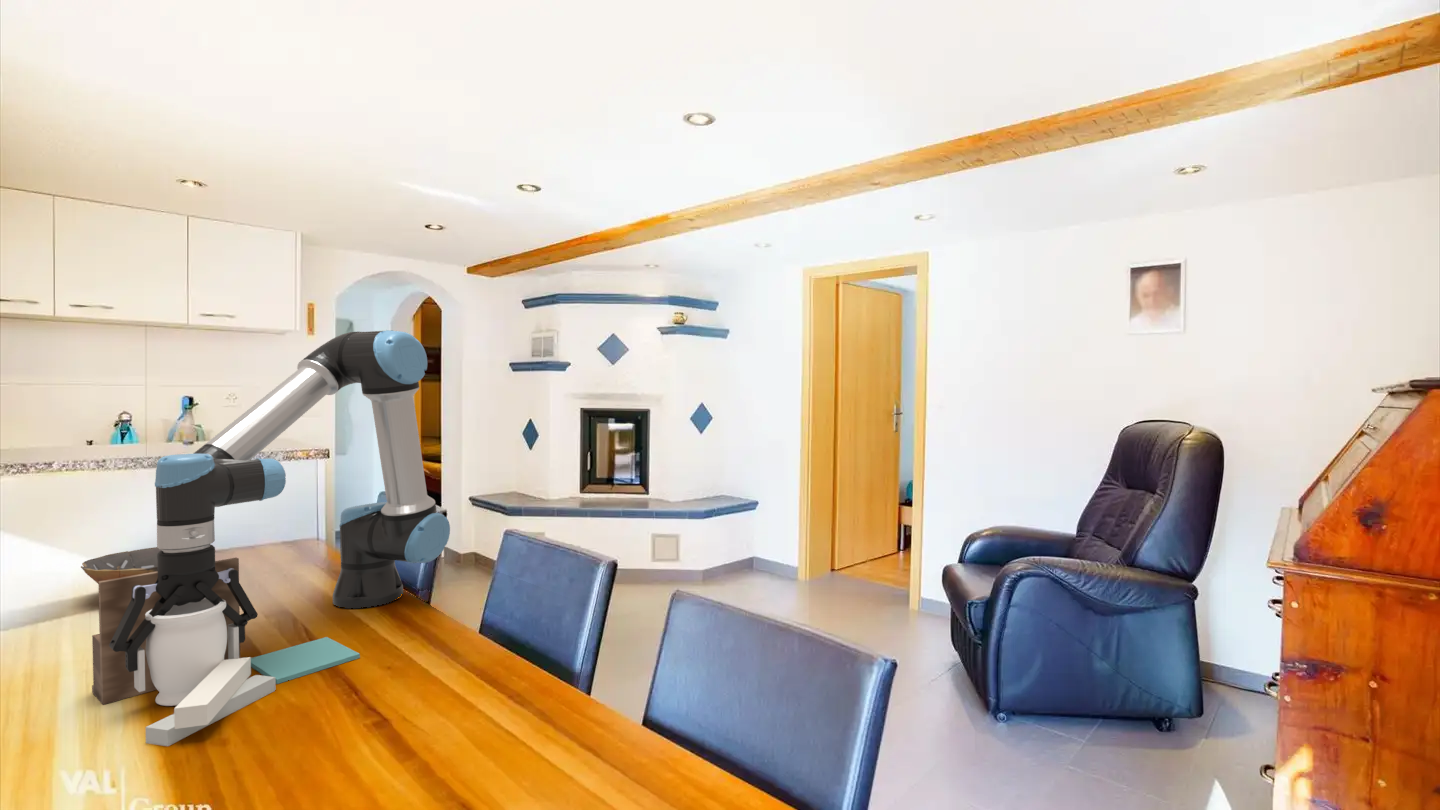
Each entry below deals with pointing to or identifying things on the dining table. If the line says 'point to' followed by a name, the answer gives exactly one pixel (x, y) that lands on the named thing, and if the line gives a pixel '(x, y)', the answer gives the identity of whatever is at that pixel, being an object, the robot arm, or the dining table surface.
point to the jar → (185, 648)
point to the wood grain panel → (113, 602)
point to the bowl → (122, 564)
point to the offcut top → (212, 693)
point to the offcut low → (246, 694)
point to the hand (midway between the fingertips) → (188, 675)
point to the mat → (303, 659)
